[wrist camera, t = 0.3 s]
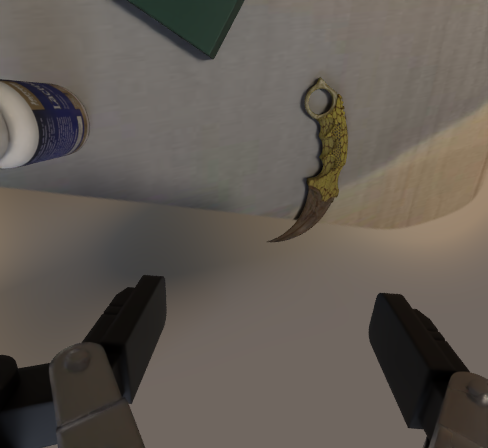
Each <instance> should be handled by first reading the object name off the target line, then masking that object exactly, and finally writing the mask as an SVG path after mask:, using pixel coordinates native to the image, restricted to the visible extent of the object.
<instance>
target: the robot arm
mask: <svg viewBox="0 0 488 448" xmlns="http://www.w3.org/2000/svg"><path fill="white" fill-rule="evenodd" d="M165 320H166V288H165V278H164V277H163V276H150V275H143V276H142V278H141V279H140V281H139V282H138V284H137V285H136V287H135V288H132V287H127V288H126V289H124V290H123V291H122V292H120V293H118V294H117V295H116V296H115V297H114V299H113V300H112V302H111V303H110V304H109V306H108V307H107V308H106V310H105V311H104V314H102V315H101V317H100V318H99V319H98V321H97V322H96V324H95V325H94V326H93V328H92V329H91V331H90V332H89V333H88V335H87V336H86V337H85V339H84V340H83V341H82V343H78V344H74V345H72V346H69V347H67V348H65V349H64V350H62V351H61V352H59V353H58V354H57V355H56V356H55V357H54V358H53V360H52V361H51V363H48V364H42V365H36V366H30V367H24V368H18V367H17V364H16V361H15V360H14V359H13V358H12V357H10V356H6V355H0V448H43V447H46V446H51V445H55V444H58V448H145V446H144V444H143V441H142V438H141V435H140V433H139V430H138V428H137V425H136V422H135V419H134V417H133V414H132V412H131V409H130V406H129V404H132V402H133V399H134V397H135V394H136V392H137V390H138V387H139V385H140V382H141V380H142V378H143V375H144V373H145V371H146V368H147V366H148V363H149V361H150V359H151V356H152V354H153V352H154V349H155V347H156V344H157V342H158V339H159V337H160V335H161V332H162V330H163V328H164V325H165ZM369 339H370V343H371V345H372V348H373V350H374V352H375V354H376V357H377V359H378V361H379V364H380V366H381V368H382V370H383V373H384V375H385V377H386V379H387V382H388V384H389V386H390V388H391V390H392V393H393V395H394V397H395V399H396V402H397V404H398V406H399V408H400V411H401V413H402V415H403V417H404V420H405V422H406V424H407V426H408V428H414V429H424V431H425V432H426V435H427V437H426V440H425V442H424V445H423V448H488V379H486V378H484V377H482V376H480V375H477V374H474V373H470V371H469V370H468V369H467V367H466V366H465V365H464V364H463V362H462V361H461V360H460V358H459V357H458V356H457V354H456V353H455V352H454V350H453V349H452V348H451V346H450V345H449V344H448V342H447V341H445V339H444V337H443V336H442V335H441V333H440V332H438V329H437V328H436V327H435V325H434V324H433V323H432V321H431V320H430V319H429V318H427V317H426V316H425V315H424V314H422V313H421V312H420V311H418V310H417V309H412V308H411V306H410V305H409V303H408V302H407V301H406V299H405V298H404V296H402V295H400V294H388V293H379V294H378V295H377V298H376V302H375V305H374V310H373V313H372V317H371V321H370V325H369Z"/></svg>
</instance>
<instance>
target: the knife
mask: <svg viewBox="0 0 488 448" xmlns="http://www.w3.org/2000/svg"><path fill="white" fill-rule="evenodd" d="M317 89H325V90H327V91H328V92H329V93H330V94H331V96H332V105H331V107H330V109H329V110H328V111H327V112H326V113H324V114H320V115H318V114H315V113H313V112H312V111H311V110H310V108H309V105H308V100H309V97H310V95H311V93H312V92H313V91H315V90H317ZM341 99H342V97H341V96H340V95H339V94H337V92H336V91H334V90H333V89H332V88H330V87H329V86H328V85H327V84H326V83H325V82H324V80H323V79H322V78H321V77H320V78H319V79H318V81H317V84H316V85H314V86H313V87H312V88H311V89H310V90H309V91H308V93H307V94H306V97H305V108H306V111H307V112H308V114H309V115H310V116H311V117H312V118H314V119H316V120H317V121H318V122H319V124H320V126H321V131H320V134H319V138H320V139H321V141H322V145H323V150H322V154H321V155H320V156H319V158H320V159H321V160H322V163H323V169H322V171H321V173H320V174H319V175H318V176H316V177H313V178H307V184H308V188H309V190H308V197H307V201H306V205H305V207H304V209H303V212H302V214H301V215H300V217H299V219H298V220H297V221H296V223H295V224H294V225H293V226H292V227H291V228H290V229H289V230H288V231H287V232H285V233H284V234H283V235H281V236H279V237H278V238H275V239H273V240H271V241H268V242H279V241H285V240H288V239H291V238H294V237H296V236H299V235H301V234H303V233H304V232H306V231H307V230H309V229H310V228H312V227H313V226H314V225H315V224H316V223H317V222H318V221H319V220H320V219H321V218H322V217H323V215H324V214H325V213H326V211H327V210H328V208H329V206H330V204H331V203H332V202H333V200H334V198H335V197H337V196H338V193H339V189H338V176H339V173H340V171H341V169H342V167H343V166H344V165H345V162H346V158H347V147H348V144H347V143H348V139H347V138H348V136H347V135H348V134H347V125H346V121H345V119H346V118H345V116H344V115H345V112H343V109H344V106H342V104H343V102H342V101H341Z"/></svg>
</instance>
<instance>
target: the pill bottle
mask: <svg viewBox="0 0 488 448" xmlns="http://www.w3.org/2000/svg"><path fill="white" fill-rule="evenodd" d="M88 134H89V119H88V116H87V113H86V110H85V108H84V106H83V105H82V103H81V102H80V101H79V99H78V98H77V97H76V96H75V95H74V94H73V93H71V92H70V91H69V90H67V89H65V88H63V87H61V86H58V85H54V84H45V83H34V82H23V81H12V80H2V79H0V168H1V169H9V168H16V167H21V166H25V165H29V164H33V163H37V162H41V161H45V160H49V159H53V158H57V157H62V156H66V155H69V154H72V153H74V152H76V151H78V150H79V149H80V148H81V147H82V146H83V145H84V144H85V142H86V140H87V137H88Z"/></svg>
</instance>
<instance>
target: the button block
mask: <svg viewBox="0 0 488 448" xmlns="http://www.w3.org/2000/svg"><path fill="white" fill-rule="evenodd" d="M127 1H129V2H130V3H132V4H133V5H135V6H136V7H137V8H139V9H140V10H142V11H143V12H145V13H146V14H148V15H149V16H151V17H152V18H154V19H155V20H156V21H158V22H159V23H161V24H162V25H164V26H165V27H167V28H168V29H170V30H171V31H173V32H174V33H175V34H177V35H178V36H180V37H181V38H183V39H184V40H186V41H187V42H189V43H190V44H192V45H193V46H194V47H196V48H197V49H199V50H200V51H202V52H203V53H205V54H206V55H208V56H209V57H211V58H212V59H214V58H215V56H216V54H217V52H218V50H219V48H220V46H221V44H222V42H223V40H224V39H225V37H226V35H227V33H228V31H229V29H230V27H231V25H232V23H233V21H234V19H235V17H236V16H237V14H238V12H239V10H240V8H241V6H242V4H243V2H244V0H127Z"/></svg>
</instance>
